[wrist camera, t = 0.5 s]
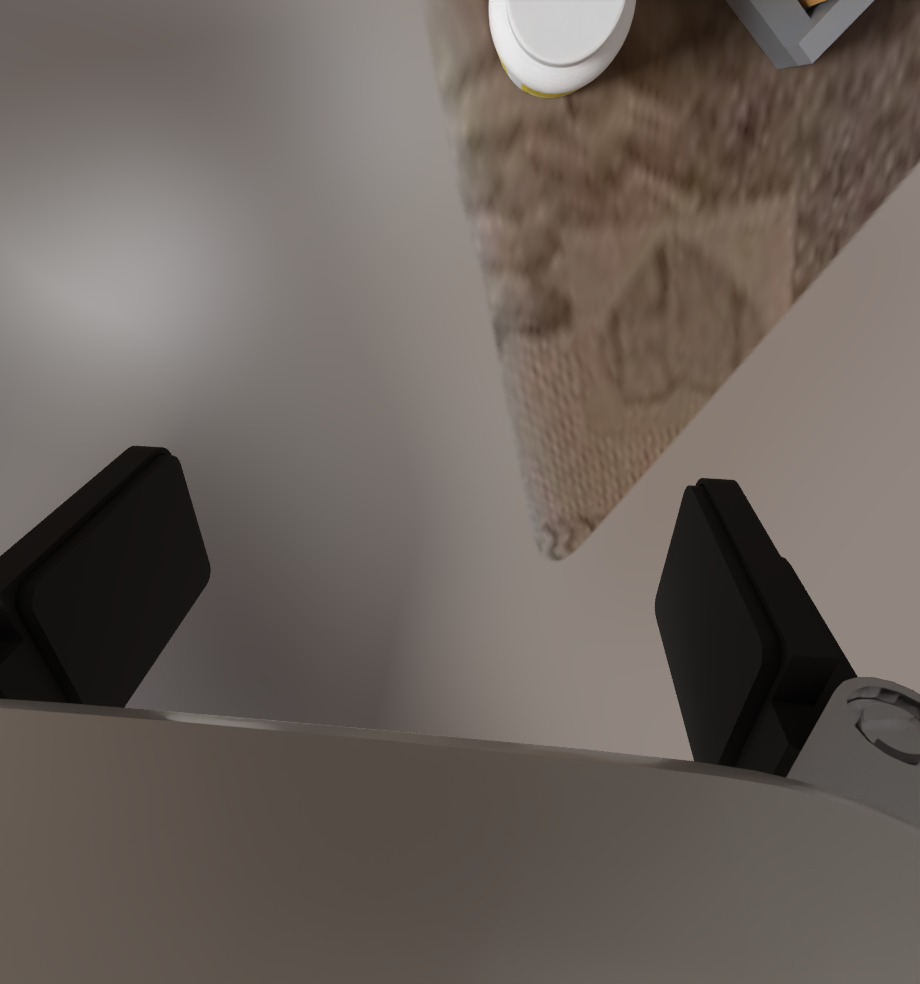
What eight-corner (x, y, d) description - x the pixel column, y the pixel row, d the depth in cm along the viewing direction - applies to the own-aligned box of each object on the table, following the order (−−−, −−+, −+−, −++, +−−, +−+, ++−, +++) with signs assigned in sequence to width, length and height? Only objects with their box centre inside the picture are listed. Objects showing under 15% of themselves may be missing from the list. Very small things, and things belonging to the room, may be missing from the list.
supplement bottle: (638, 22, 26) (689, -18, 18) (550, 125, 29) (560, 131, 21) (557, -86, 25) (573, -183, 17) (471, 33, 27) (449, 0, 19)
